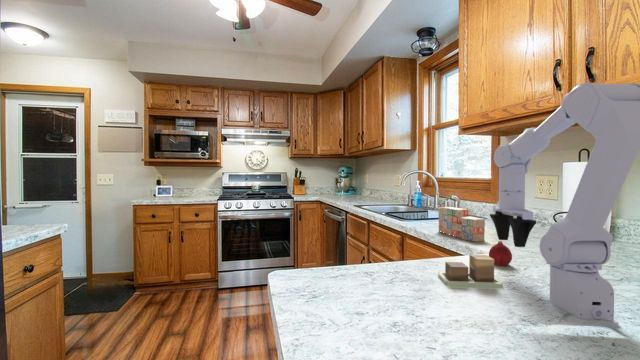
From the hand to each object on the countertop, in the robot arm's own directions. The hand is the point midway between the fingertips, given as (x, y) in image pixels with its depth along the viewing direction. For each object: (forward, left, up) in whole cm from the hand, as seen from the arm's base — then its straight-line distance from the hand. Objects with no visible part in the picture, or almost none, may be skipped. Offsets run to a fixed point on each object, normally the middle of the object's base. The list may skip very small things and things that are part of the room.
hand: (510, 243), depth 76 cm
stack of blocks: (+54, -8, -10) cm, 55 cm away
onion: (+9, -2, -10) cm, 13 cm away
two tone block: (-6, +10, -8) cm, 14 cm away
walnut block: (-6, +16, -8) cm, 19 cm away
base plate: (-6, +13, -9) cm, 17 cm away
